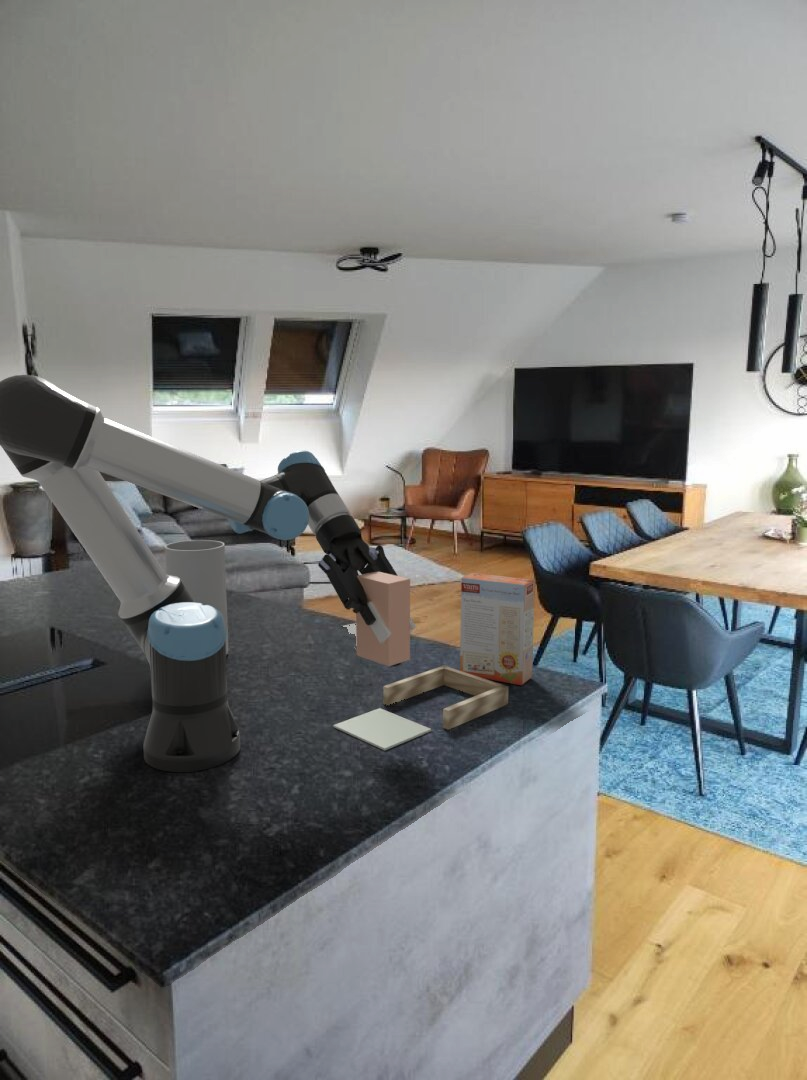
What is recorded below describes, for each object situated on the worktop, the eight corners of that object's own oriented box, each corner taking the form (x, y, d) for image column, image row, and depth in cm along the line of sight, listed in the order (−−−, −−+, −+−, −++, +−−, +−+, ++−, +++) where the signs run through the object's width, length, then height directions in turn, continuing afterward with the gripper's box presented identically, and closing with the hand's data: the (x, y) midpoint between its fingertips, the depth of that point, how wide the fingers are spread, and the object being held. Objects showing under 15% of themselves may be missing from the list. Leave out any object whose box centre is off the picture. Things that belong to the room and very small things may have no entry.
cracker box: (533, 678, 163) (536, 578, 159) (521, 687, 158) (525, 584, 154) (471, 666, 170) (473, 570, 166) (458, 674, 165) (460, 576, 161)
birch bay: (448, 729, 137) (448, 710, 137) (383, 703, 149) (383, 686, 148) (507, 704, 149) (508, 686, 148) (443, 682, 160) (443, 665, 160)
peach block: (388, 666, 131) (388, 583, 128) (356, 655, 137) (355, 575, 134) (410, 659, 134) (410, 578, 132) (377, 648, 140) (377, 571, 137)
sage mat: (384, 750, 129) (384, 748, 129) (333, 727, 138) (333, 725, 138) (431, 731, 137) (431, 728, 137) (379, 710, 146) (379, 708, 146)
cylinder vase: (185, 669, 167) (179, 553, 163) (161, 654, 177) (155, 544, 172) (238, 657, 175) (234, 546, 171) (212, 643, 185) (208, 538, 180)
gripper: (361, 532, 149) (424, 635, 141) (283, 545, 137) (346, 659, 128) (380, 507, 144) (446, 612, 136) (301, 518, 132) (368, 634, 123)
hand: (398, 634), depth 132 cm, fingers closed on peach block, 5 cm apart
